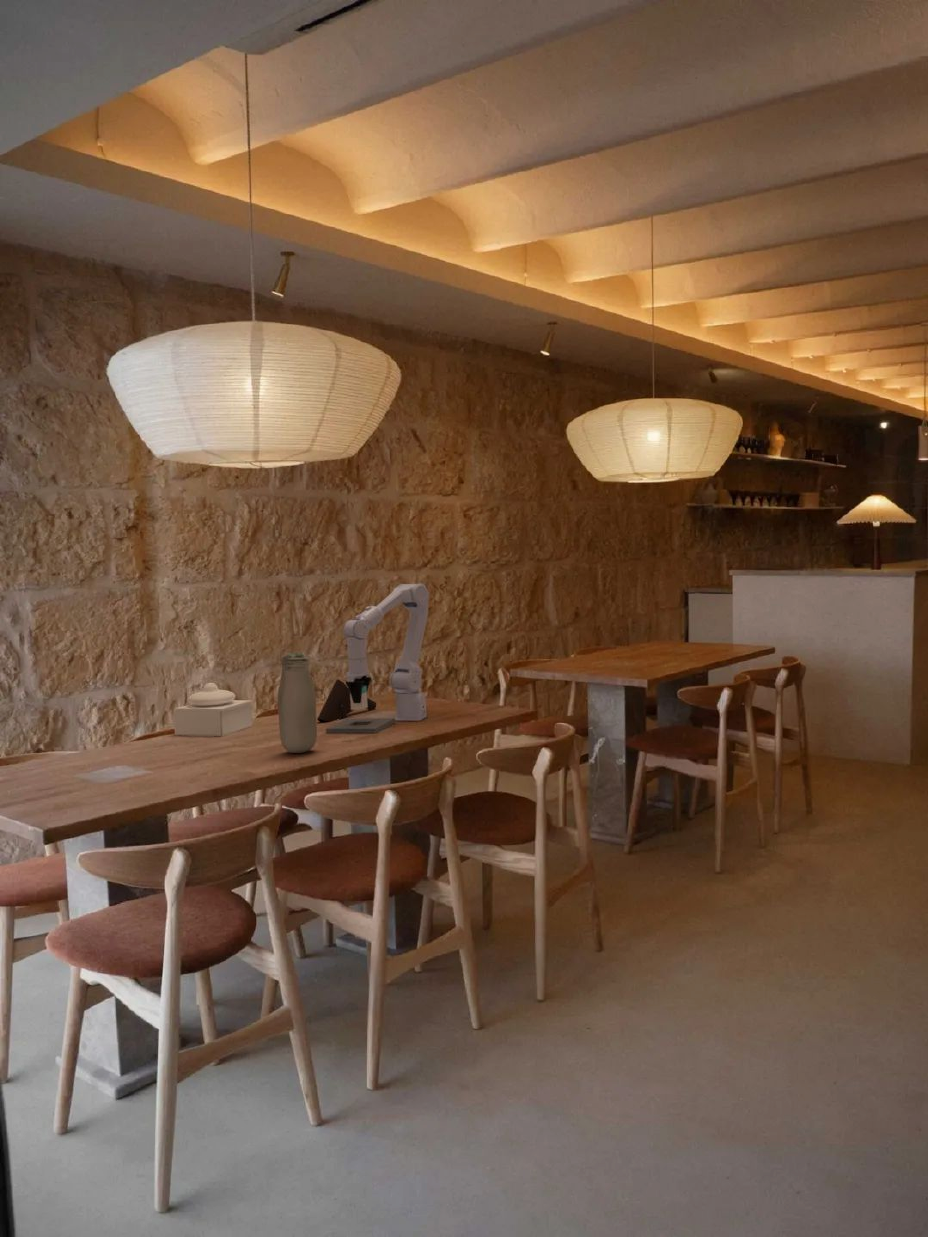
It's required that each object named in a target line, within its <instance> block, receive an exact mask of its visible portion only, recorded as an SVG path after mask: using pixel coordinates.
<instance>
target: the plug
mask: <svg viewBox="0 0 928 1237" xmlns="http://www.w3.org/2000/svg"><path fill="white" fill-rule="evenodd" d="M367 698H368V691H367V688H366V686H363V687H362V694H361V703H354V702H353V699H352V696H351V693H350V701H351V710H354V711H364V710H367V709H366V708H368V704H367Z"/></svg>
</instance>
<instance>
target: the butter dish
mask: <svg viewBox="0 0 928 1237" xmlns="http://www.w3.org/2000/svg"><path fill="white" fill-rule="evenodd" d="M187 702H188V703H189V704H187V705H182V706H178V707H175V708H174V710H173V724H174V726H173V727H174V728H173V729H174V735H193V736H192V737H214V736H223V737H225V736H224V735H226V736H229V735H232V734H234V733H233V732H235V733H237V732H236V731H238V730H240V729H244V728H247V727H250V726H252V725H253V724H254V722H253V708H252V707H253V706H252V705H253V704H252V703H253V700H249V699H248V700H247V699H246V700H245V699H243V700H241V699H237V700H236V694H235V693H234V692H232V691H230V690H227V689H219V687H218V685H217V684H216V683H215V682H208V683H206V684H205V685H204V686H203V689H202V690H201V691H198V692H194V693H193V694H190V696H188V697H187ZM253 726H254V725H253ZM250 728H251V727H250ZM247 729H248V728H247ZM244 730H245V729H244ZM238 732H239V731H238ZM231 733H232V734H231ZM228 734H229V735H228Z"/></svg>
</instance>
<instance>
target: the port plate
mask: <svg viewBox="0 0 928 1237" xmlns="http://www.w3.org/2000/svg"><path fill="white" fill-rule="evenodd" d="M395 718H396V717H392V718H389V717H388V718H386V717H384V718H383V717H382V718H381V717H380V718H379V717H375V718H374V717H372V718H371V717H370V718H366V717H364V718H363V717H361V718H357V717H356V718H355V717H354V718H353V717H351V718H346V719H344V720H341V721H339V722H336V723H335V724H333V725H331V726H329V727H326V728H325V733H326V734H373V735H374V734H377V733H380V732H381V731H383V730H385V729H387V728H388V727H390V726H392V725H394V724H395V723H396V721H395ZM393 723H394V724H393Z"/></svg>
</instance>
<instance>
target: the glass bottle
mask: <svg viewBox="0 0 928 1237" xmlns="http://www.w3.org/2000/svg"><path fill="white" fill-rule="evenodd" d="M277 710H278V724H279V725H278V726H279V738H280V743H281V745H282V747H283V749H285V750H286V751H287V752H289V753H293V754H302V753H307V752H309V751H311V750H312V749H313V748H314V747H315V744H316V742H317V737H318V727H317V726H318V725H317V724H318V723H317V721H318V720H317V696H316V692H315V687H314V684H313V681H312V677H311V674H310V660H309V658H308V656H307V654H305V652H302V651H292V652H288V653H286V654H285V655H283V657H282V659H281V676H280V682H279V686H278V692H277Z"/></svg>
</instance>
